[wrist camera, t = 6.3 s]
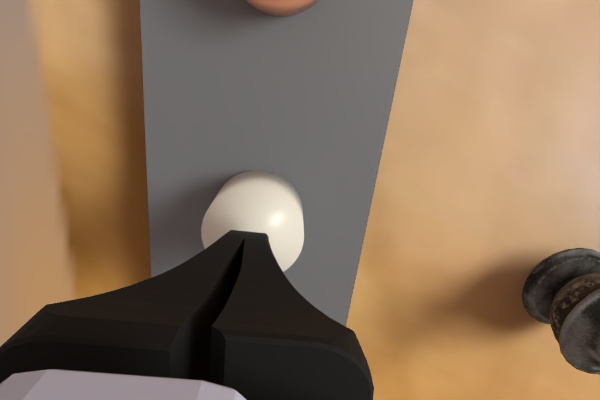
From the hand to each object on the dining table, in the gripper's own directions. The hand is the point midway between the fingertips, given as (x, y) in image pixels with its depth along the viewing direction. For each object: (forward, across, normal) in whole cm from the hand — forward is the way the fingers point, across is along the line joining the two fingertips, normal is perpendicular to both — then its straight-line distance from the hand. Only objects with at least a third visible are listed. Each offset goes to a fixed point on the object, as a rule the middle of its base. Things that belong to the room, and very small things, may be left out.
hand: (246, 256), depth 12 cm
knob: (+6, 0, 0) cm, 6 cm away
